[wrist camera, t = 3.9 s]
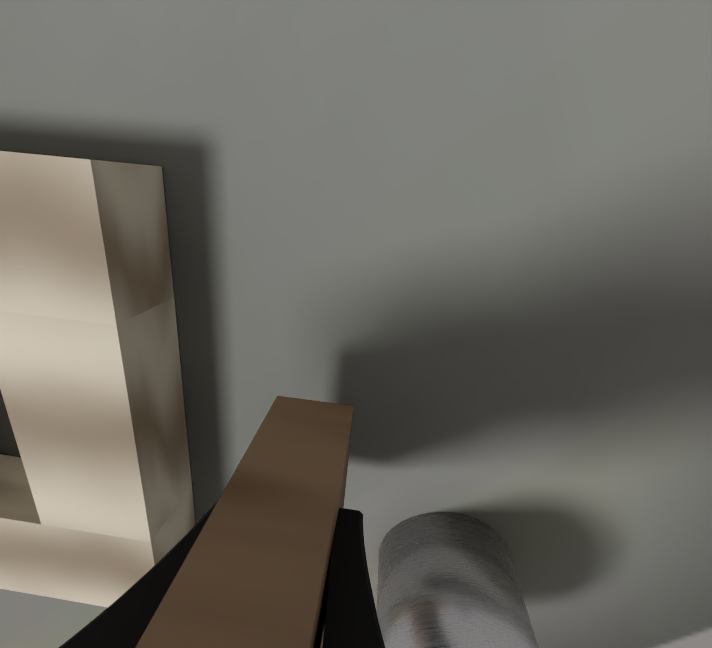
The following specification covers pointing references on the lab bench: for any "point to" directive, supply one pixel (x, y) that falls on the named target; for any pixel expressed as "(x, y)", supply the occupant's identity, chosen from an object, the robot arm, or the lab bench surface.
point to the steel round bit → (449, 586)
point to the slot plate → (88, 378)
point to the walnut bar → (265, 540)
